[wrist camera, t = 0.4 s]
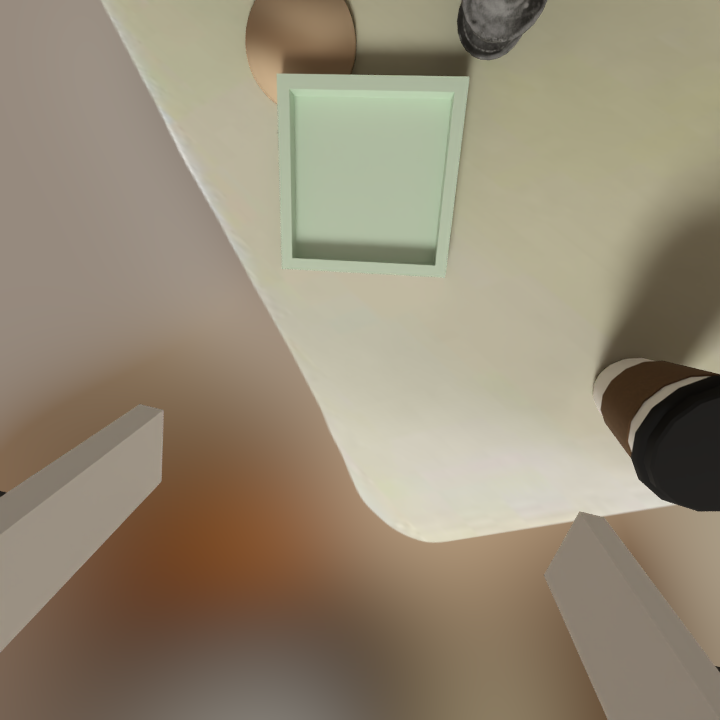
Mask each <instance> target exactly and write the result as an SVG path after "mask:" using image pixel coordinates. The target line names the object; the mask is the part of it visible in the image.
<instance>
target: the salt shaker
mask: <svg viewBox="0 0 720 720" xmlns="http://www.w3.org/2000/svg"><path fill="white" fill-rule="evenodd" d="M546 2H547V0H462V3H461V6H460V9H459V13H458V20H457V25H458V34H459V37H460V41H461V43H462V45H463V46H464V48H465V50H466V51H467V52H469V53H470V54H471V55H472V56H474V57H476V58H478V59H481V60H492V59H496V58H499V57H501V56H503V55H505V54H507V53H508V52H509V51H510V50H511V49H512V48H513V47H514V46H515V45H516V44H517V42H518V41H519V39H520V38H521V36H522V34H524V33H525V32H526V31H527V30H528V29H529V28H530V27H531V26H532V25H533V24H534V23H535V22H536V20H537V19H538V17H539V16H540V14H541V13H542V11H543V9H544V7H545V4H546Z"/></svg>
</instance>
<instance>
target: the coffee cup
mask: <svg viewBox="0 0 720 720" xmlns="http://www.w3.org/2000/svg"><path fill="white" fill-rule="evenodd" d="M593 399H594V401H595V404H596V407H597V409H598V410H599V412H600V413H601V414H602V416H603V418H604V421H605V423H606V425H607V426H608V427H609V429H610V430H611V431H612V433H613V434H614V436H615V437H616V438H617V440H618V441H619V442H620V444H621V445H622V447H623V448H624V449H625V451H626V452H627V453H628V455H629V456H630V457H631V459H632V462H633V465H634V468H635V470H636V473H637V476H638V479H639V480H640V481H641V482H642V483H644V484H645V485H646V486H647V487H648V488H649V489H650V490H651V491H652V492H654V493H655V494H656V495H657V496H658V497H659V498H660V499H662V500H665V501H668V502H671V503H674V504H677V505H680V506H683V507H686V508H690V509H693V510H696V511H720V374H716V373H712V372H708V371H704V370H700V369H695V368H691V367H687V366H683V365H678V364H674V363H670V362H666V361H653V360H649V359H645V358H631V359H623V360H620V361H618V362H615V363H613V364H610V365H609V366H608V367H607V368H605V369H604V370H603V371H602V372H601V373H600V374H599V376H598V377H597V379H596V381H595V383H594V389H593Z"/></svg>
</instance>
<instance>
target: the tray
mask: <svg viewBox="0 0 720 720" xmlns="http://www.w3.org/2000/svg"><path fill="white" fill-rule="evenodd" d="M468 85H469V77H467V76H403V75H339V74H277V109H278V146H279V183H280V220H281V257H282V269H295V270H314V271H332V272H351V273H369V274H387V275H406V276H424V277H443V278H445V275H446V267H447V259H448V250H449V242H450V234H451V226H452V217H453V209H454V201H455V193H456V184H457V176H458V168H459V160H460V151H461V143H462V135H463V127H464V118H465V110H466V102H467V94H468Z"/></svg>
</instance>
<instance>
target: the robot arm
mask: <svg viewBox="0 0 720 720" xmlns="http://www.w3.org/2000/svg"><path fill="white" fill-rule="evenodd" d="M163 413H164V411H163V410H160V409H157V408H153V407H149V406H144V405H140V404H139V405H138V406H136V407H135V408H133V409H132V410H130V411H129V412H127V413H126V414H124V415H123V416H121V417H120V418H118V419H117V420H116V421H114V422H112V423H111V424H109V425H108V426H106V427H105V428H103V429H102V430H100V431H99V432H97V433H96V434H94V435H93V436H91V437H90V438H88V439H87V440H85V441H84V442H82V443H81V444H80V445H78V446H76V447H75V448H73V449H72V450H70V451H69V452H68V453H66V454H64V455H63V456H61V457H60V458H58V459H57V460H55V461H54V462H52V463H51V464H49V465H48V466H46V467H45V468H44V469H42V470H40V471H39V472H37V473H36V474H34V475H33V476H31V477H30V478H28V479H27V480H25V481H24V482H23V483H21V484H19V485H18V486H16V487H15V488H13V489H12V490H10V491H9V492H7V493H6V492H1V491H0V652H1V651H2V650H3V649H4V648H5V647H6V646H7V645H8V644H9V642H10V641H11V640H12V639H13V638H14V637H15V636H16V635H17V634H18V633H19V632H20V631H21V630H22V629H23V628H24V627H25V625H26V624H27V623H28V622H29V621H30V620H31V619H32V618H33V617H34V616H35V615H36V614H37V613H38V612H39V611H40V609H42V607H43V606H44V605H45V604H46V603H47V602H48V601H49V600H50V599H51V598H52V597H53V596H54V595H55V594H56V593H57V592H58V590H59V589H60V588H61V587H62V586H63V585H64V584H65V583H66V582H67V581H68V580H69V579H70V578H71V577H72V576H73V575H74V573H75V572H76V571H77V570H78V569H79V568H80V567H81V566H82V565H83V564H84V563H85V562H86V561H87V560H88V558H89V557H90V556H91V555H92V554H93V553H94V552H95V551H96V550H97V549H98V548H99V547H100V546H101V545H102V544H103V543H104V542H105V541H106V540H107V539H108V537H109V536H110V535H111V534H112V533H113V532H114V531H115V530H116V529H117V528H118V527H119V526H120V525H121V524H122V523H123V521H124V520H125V519H126V518H127V517H128V516H129V515H130V514H131V513H132V512H133V511H134V510H135V509H136V508H137V507H138V505H140V503H141V502H142V501H143V500H144V499H145V498H146V497H147V496H148V495H149V494H150V493H151V492H152V491H153V490H154V489H155V488H156V486H157V485H158V484H159V483H160V482H161V476H162V444H163ZM544 576H545V579H546V581H547V583H548V586H549V588H550V590H551V592H552V595H553V597H554V599H555V601H556V604H557V606H558V608H559V610H560V613H561V615H562V617H563V619H564V622H565V624H566V626H567V628H568V630H569V633H570V635H571V637H572V640H573V642H574V644H575V646H576V649H577V651H578V653H579V656H580V658H581V660H582V662H583V665H584V667H585V669H586V671H587V674H588V676H589V678H590V680H591V683H592V685H593V687H594V689H595V692H596V694H597V696H598V698H599V701H600V703H601V705H602V707H603V710H604V712H605V714H606V717H607V719H608V720H720V667H717V666H715V665H714V664H713V663H712V661H711V660H710V659H709V657H708V656H707V655H706V653H705V652H704V651H703V649H702V648H701V646H700V645H699V644H698V643H697V641H696V640H695V638H694V637H693V636H692V634H691V633H690V632H689V630H688V629H687V628H686V626H685V625H684V624H683V622H682V621H681V620H680V618H679V617H678V616H677V614H676V613H675V612H674V611H673V609H672V608H671V606H670V605H669V604H668V602H667V601H666V600H665V598H664V597H663V596H662V594H661V593H660V592H659V590H658V589H657V588H656V586H655V585H654V584H653V582H652V581H651V580H650V578H649V577H648V576H647V574H646V573H645V571H644V570H643V569H642V567H641V566H640V565H639V563H638V562H637V561H636V559H635V558H634V557H633V555H632V554H631V553H630V551H629V550H628V549H627V547H626V546H625V545H624V543H623V542H622V541H621V539H620V538H619V537H618V535H617V534H616V533H615V532H614V530H613V529H612V527H611V526H610V525H609V523H608V522H607V521H606V519H605V518H604V517H600V516H596V515H592V514H588V513H584V512H579V514H578V515H577V517H576V519H575V521H574V522H573V524H572V526H571V528H570V530H569V531H568V533H567V535H566V537H565V539H564V540H563V542H562V544H561V546H560V548H559V549H558V551H557V553H556V555H555V557H554V558H553V560H552V562H551V564H550V565H549V567H548V569H547V571H546V573H545V575H544Z"/></svg>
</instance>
